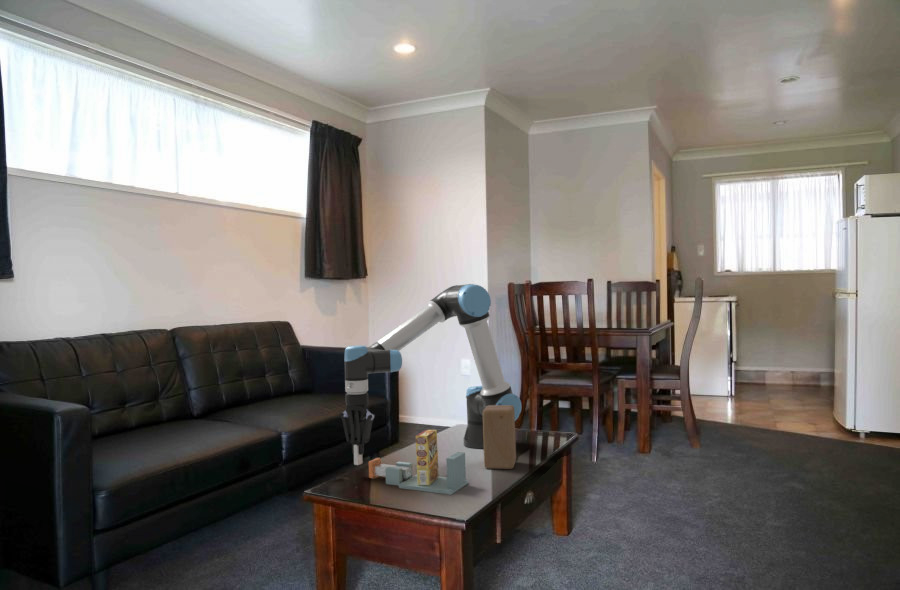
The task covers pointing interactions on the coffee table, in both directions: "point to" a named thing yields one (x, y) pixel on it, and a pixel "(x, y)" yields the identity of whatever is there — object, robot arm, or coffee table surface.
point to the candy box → (427, 457)
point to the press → (440, 485)
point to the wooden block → (499, 437)
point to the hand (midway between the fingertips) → (358, 463)
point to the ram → (379, 469)
